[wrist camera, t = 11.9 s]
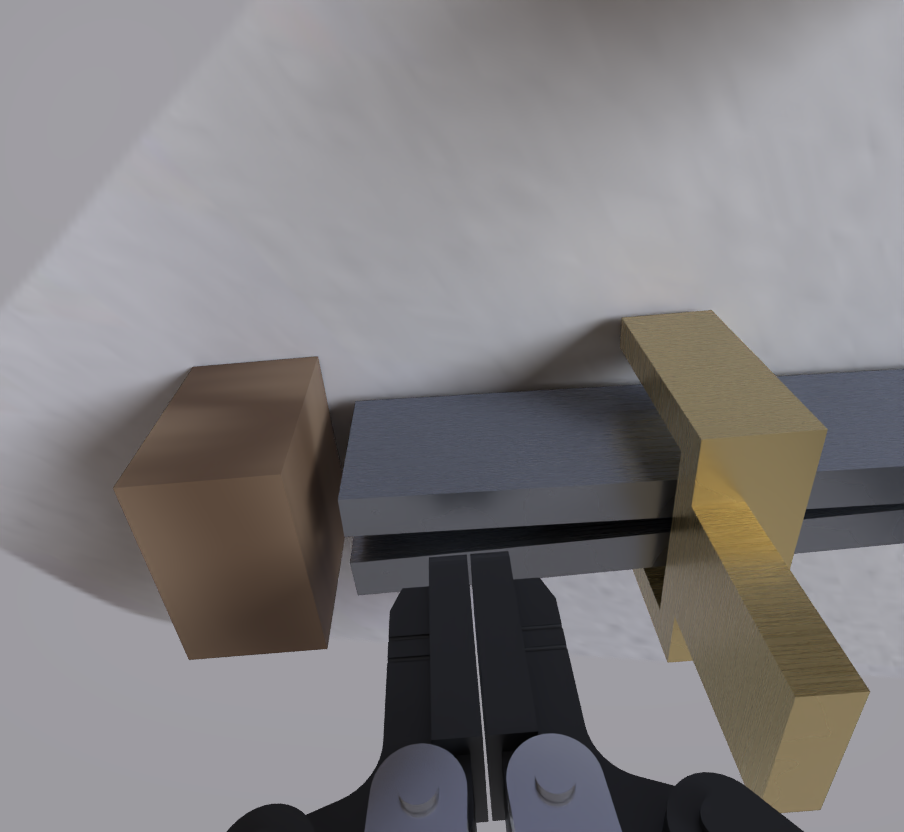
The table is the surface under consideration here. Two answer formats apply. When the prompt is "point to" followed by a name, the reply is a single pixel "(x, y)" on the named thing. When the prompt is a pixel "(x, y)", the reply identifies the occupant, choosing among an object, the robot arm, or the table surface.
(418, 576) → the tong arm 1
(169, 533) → the block
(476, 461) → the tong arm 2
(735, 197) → the table surface
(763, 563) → the collar
